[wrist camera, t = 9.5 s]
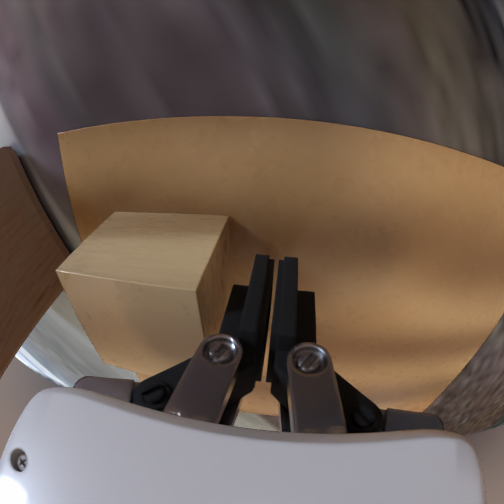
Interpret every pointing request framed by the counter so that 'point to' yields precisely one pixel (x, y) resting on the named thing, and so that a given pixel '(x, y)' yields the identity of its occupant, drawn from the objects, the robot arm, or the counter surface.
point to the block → (24, 258)
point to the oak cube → (150, 286)
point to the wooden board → (325, 232)
